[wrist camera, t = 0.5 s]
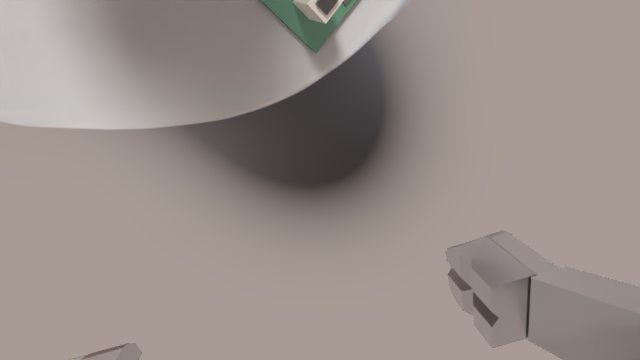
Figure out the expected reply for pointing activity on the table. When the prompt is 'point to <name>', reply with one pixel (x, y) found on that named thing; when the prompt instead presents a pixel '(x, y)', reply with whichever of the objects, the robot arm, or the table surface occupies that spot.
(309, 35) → the board
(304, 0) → the plug
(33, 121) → the table surface
